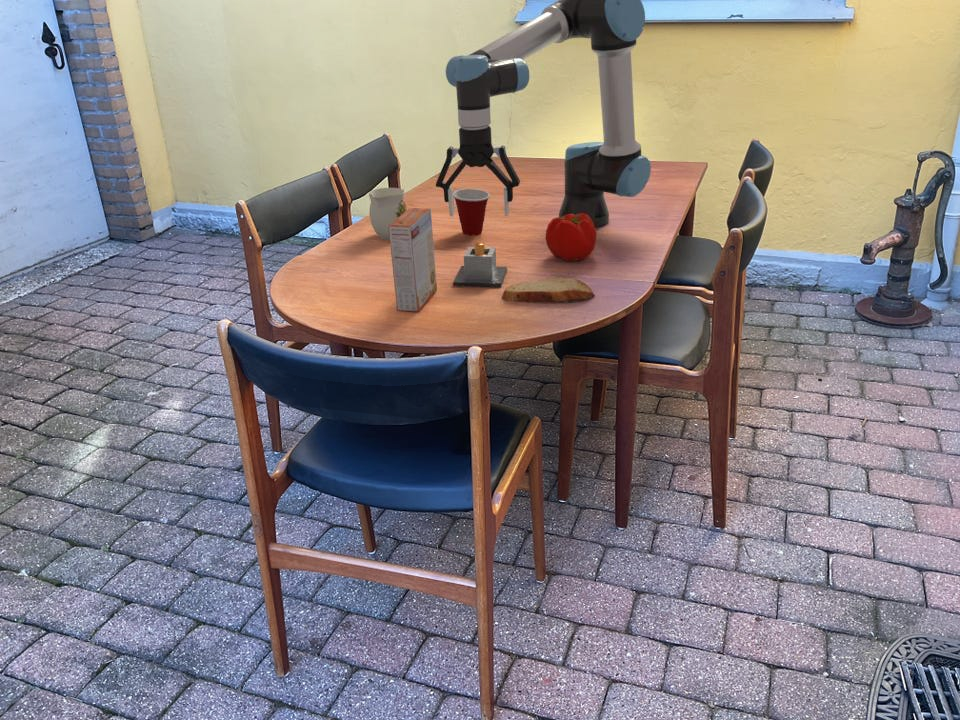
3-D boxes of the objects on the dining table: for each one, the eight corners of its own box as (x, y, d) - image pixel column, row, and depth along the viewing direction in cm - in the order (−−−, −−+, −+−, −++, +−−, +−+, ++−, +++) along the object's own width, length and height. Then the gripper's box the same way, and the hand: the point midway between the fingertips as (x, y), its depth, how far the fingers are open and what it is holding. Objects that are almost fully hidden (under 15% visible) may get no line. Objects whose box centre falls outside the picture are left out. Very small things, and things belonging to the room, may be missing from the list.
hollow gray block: (496, 269, 208) (495, 247, 205) (492, 279, 201) (491, 256, 199) (469, 269, 209) (468, 247, 206) (464, 278, 202) (463, 256, 200)
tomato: (567, 269, 209) (568, 225, 203) (535, 255, 220) (535, 213, 214) (607, 259, 215) (609, 216, 210) (574, 245, 226) (575, 204, 220)
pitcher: (419, 226, 246) (416, 182, 240) (397, 245, 231) (393, 198, 225) (386, 225, 250) (382, 180, 243) (362, 243, 234) (357, 196, 228)
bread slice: (495, 298, 194) (495, 283, 192) (546, 278, 205) (546, 264, 203) (550, 318, 182) (550, 303, 180) (601, 296, 193) (602, 281, 191)
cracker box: (414, 289, 200) (408, 206, 191) (438, 291, 199) (432, 207, 189) (394, 311, 188) (386, 224, 179) (419, 313, 187) (412, 225, 177)
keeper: (507, 270, 210) (506, 236, 206) (501, 287, 199) (500, 252, 195) (461, 269, 212) (459, 236, 208) (453, 286, 201) (451, 251, 197)
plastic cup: (479, 240, 233) (478, 199, 227) (447, 235, 238) (445, 195, 232) (497, 229, 241) (496, 190, 236) (466, 225, 246) (464, 186, 241)
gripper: (529, 122, 190) (531, 209, 200) (425, 124, 194) (432, 210, 204) (526, 128, 183) (528, 219, 193) (419, 130, 187) (426, 219, 197)
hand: (479, 214), depth 198 cm, fingers open, 13 cm apart
